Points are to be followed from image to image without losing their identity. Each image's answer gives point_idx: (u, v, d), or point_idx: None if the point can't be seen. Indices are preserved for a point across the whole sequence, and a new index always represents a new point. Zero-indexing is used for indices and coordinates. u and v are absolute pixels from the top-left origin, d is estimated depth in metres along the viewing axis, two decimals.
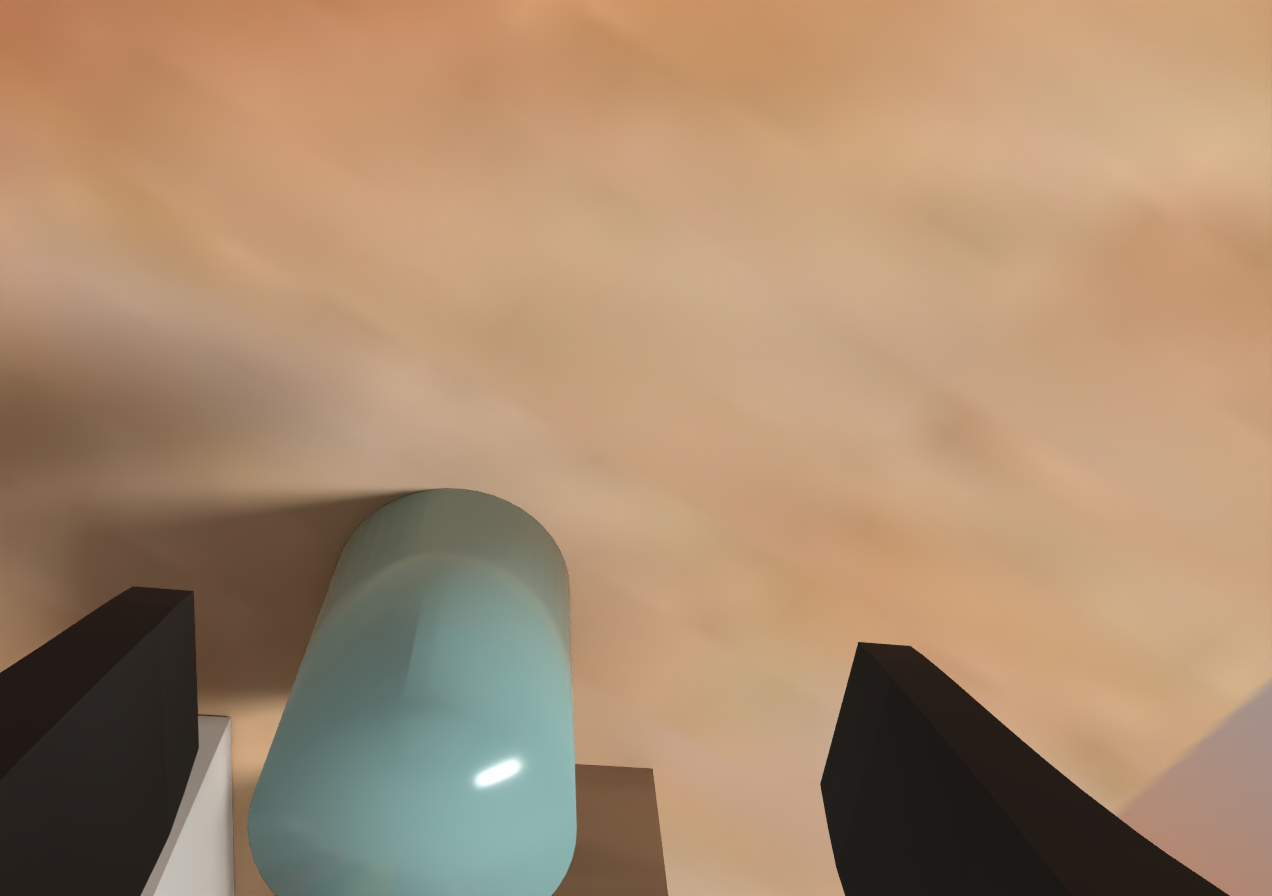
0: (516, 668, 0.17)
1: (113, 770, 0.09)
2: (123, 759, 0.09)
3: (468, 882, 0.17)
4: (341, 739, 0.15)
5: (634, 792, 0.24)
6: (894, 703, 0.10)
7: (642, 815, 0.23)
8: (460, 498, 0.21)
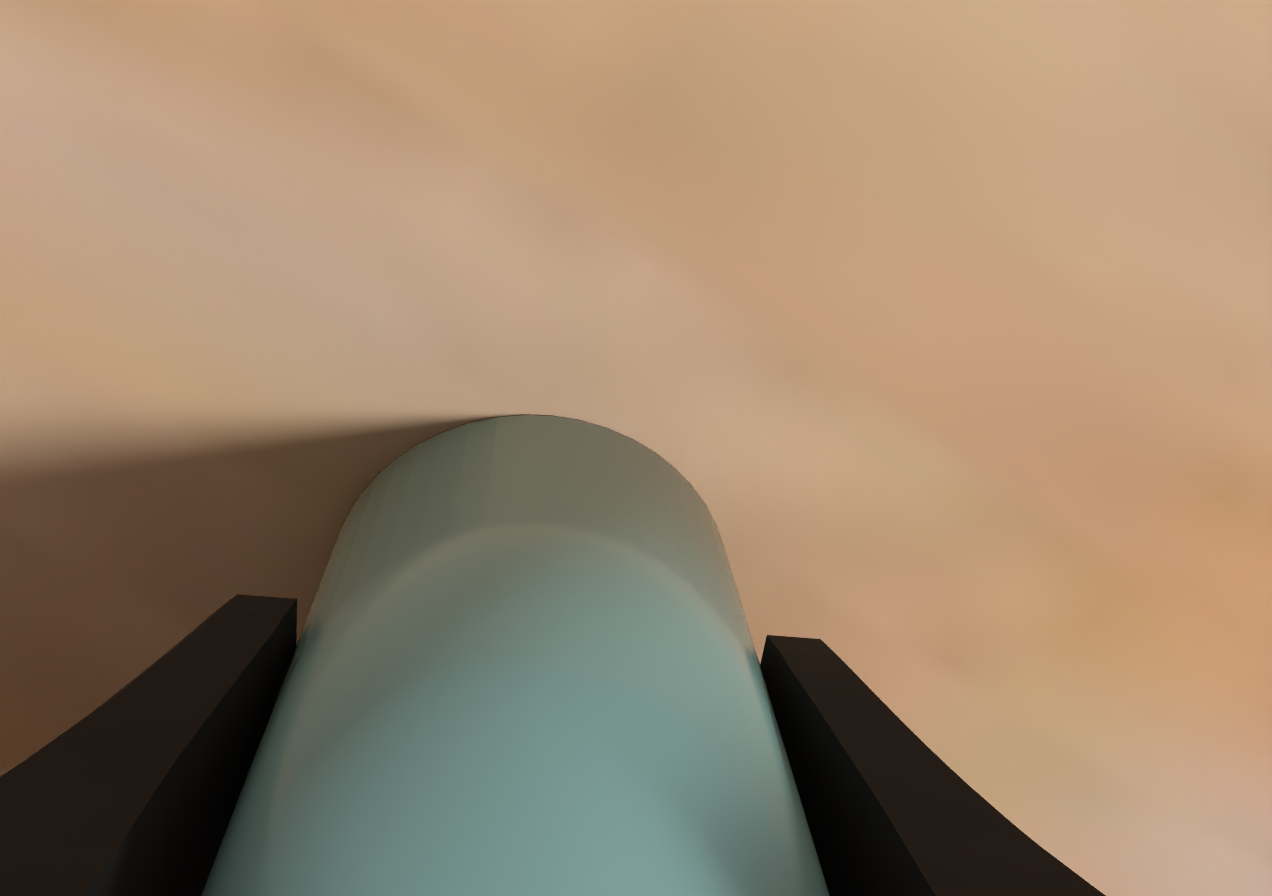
0: (733, 768, 0.08)
1: (236, 777, 0.09)
2: (243, 766, 0.09)
3: None
4: None
5: None
6: (793, 696, 0.10)
7: None
8: (553, 429, 0.12)
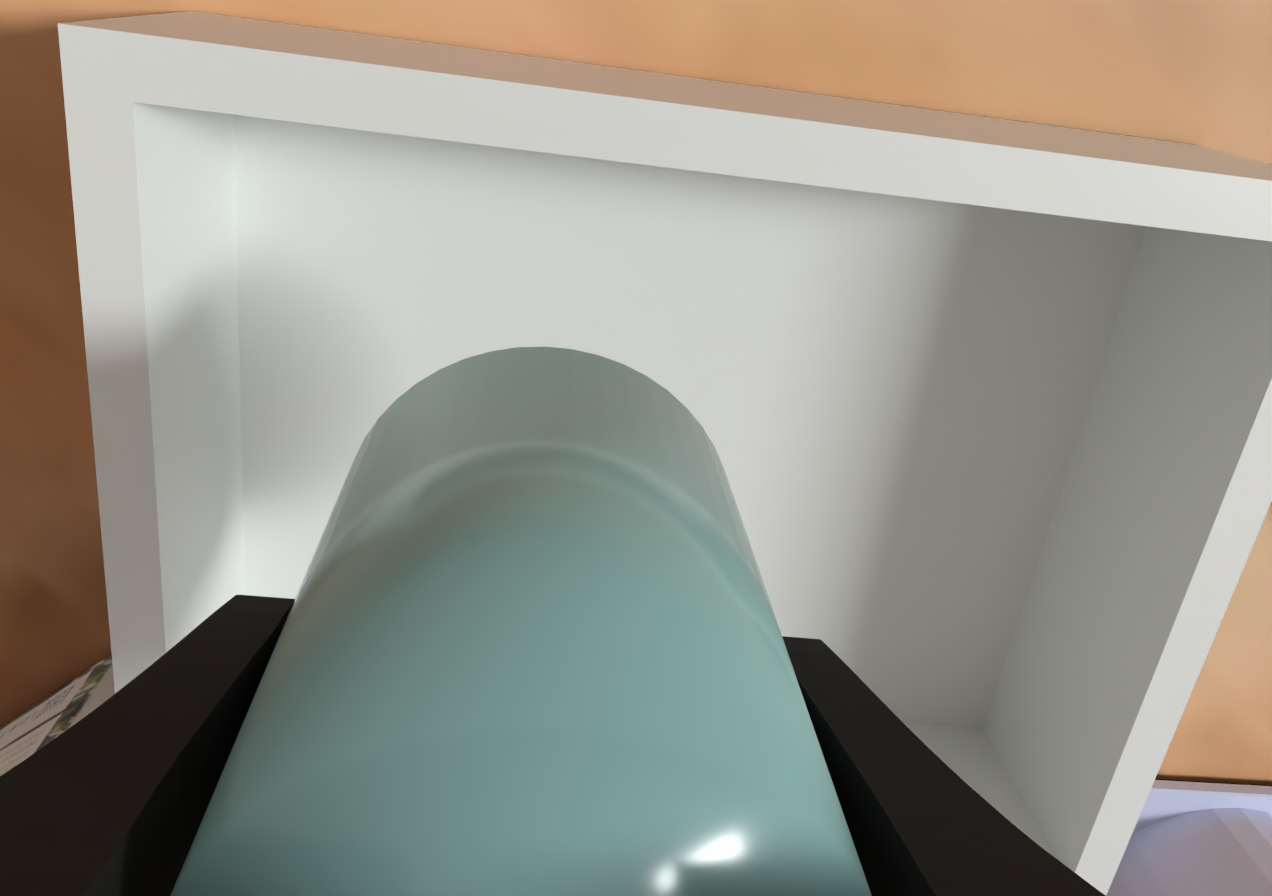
0: (774, 677, 0.08)
1: None
2: None
3: None
4: (423, 791, 0.06)
5: None
6: None
7: None
8: (599, 366, 0.12)
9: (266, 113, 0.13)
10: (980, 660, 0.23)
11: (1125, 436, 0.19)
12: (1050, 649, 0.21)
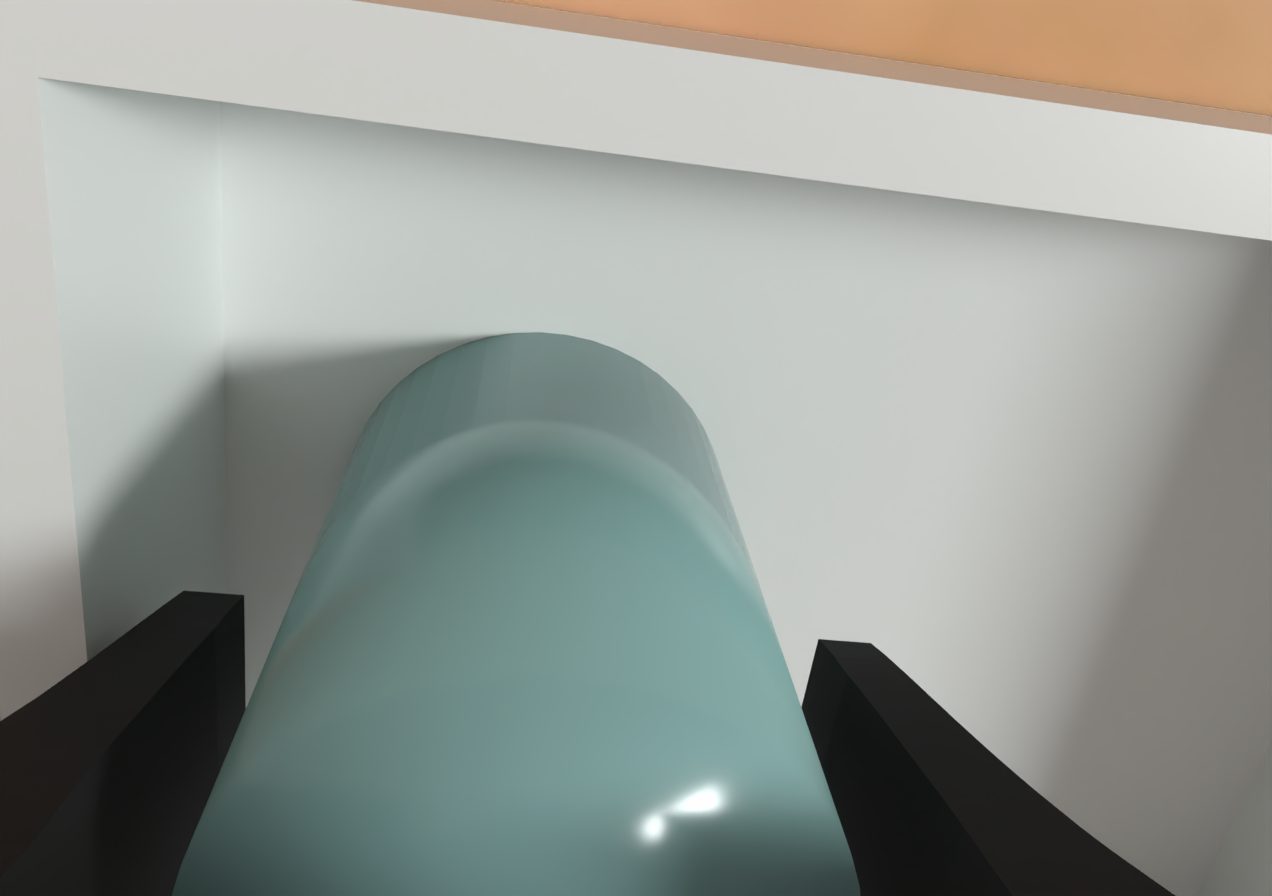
0: (757, 639, 0.09)
1: (174, 773, 0.09)
2: (182, 762, 0.09)
3: None
4: (430, 735, 0.07)
5: None
6: (850, 700, 0.10)
7: None
8: (593, 350, 0.13)
9: (270, 99, 0.08)
10: (1196, 829, 0.17)
11: None
12: None
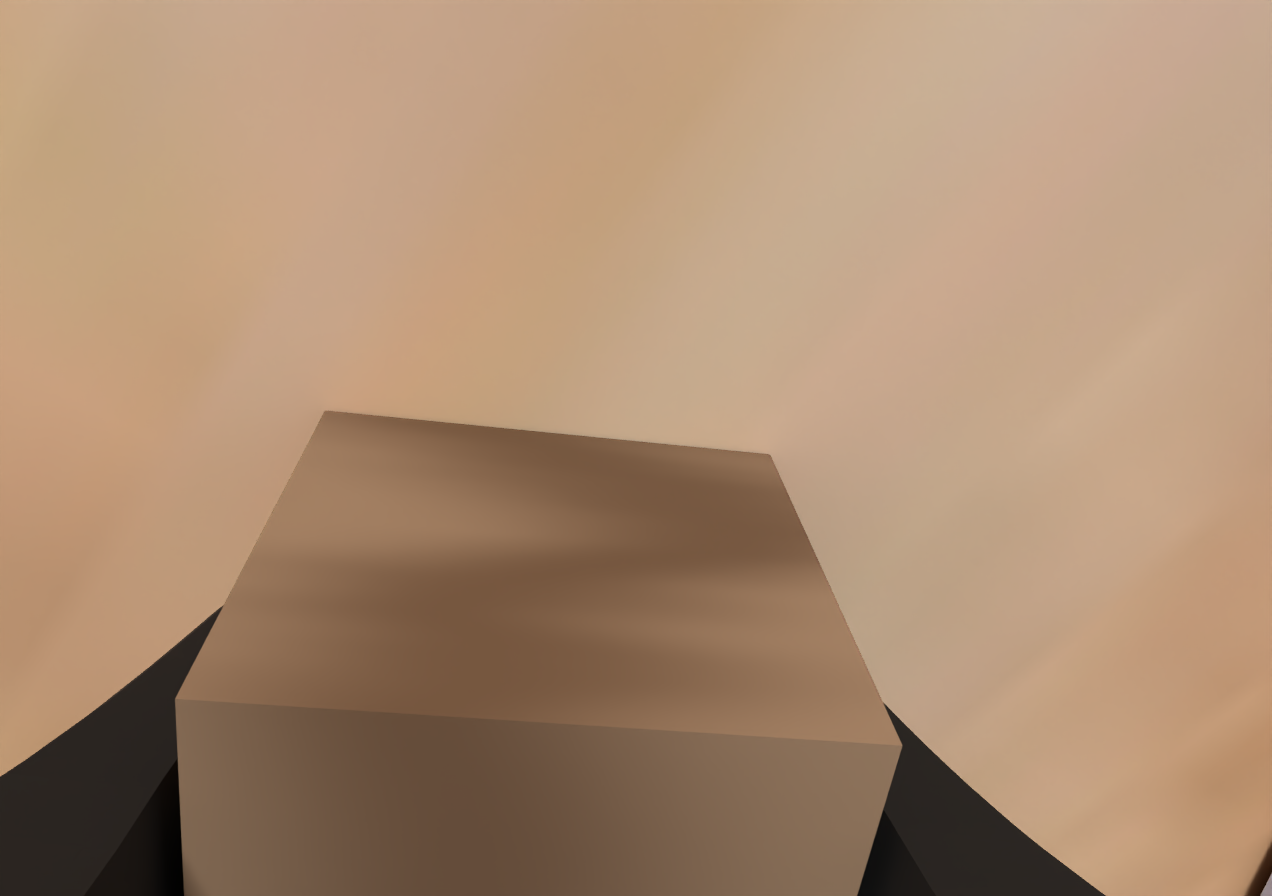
0: None
1: None
2: None
3: None
4: None
5: None
6: None
7: None
8: None
9: None
10: None
11: None
12: None
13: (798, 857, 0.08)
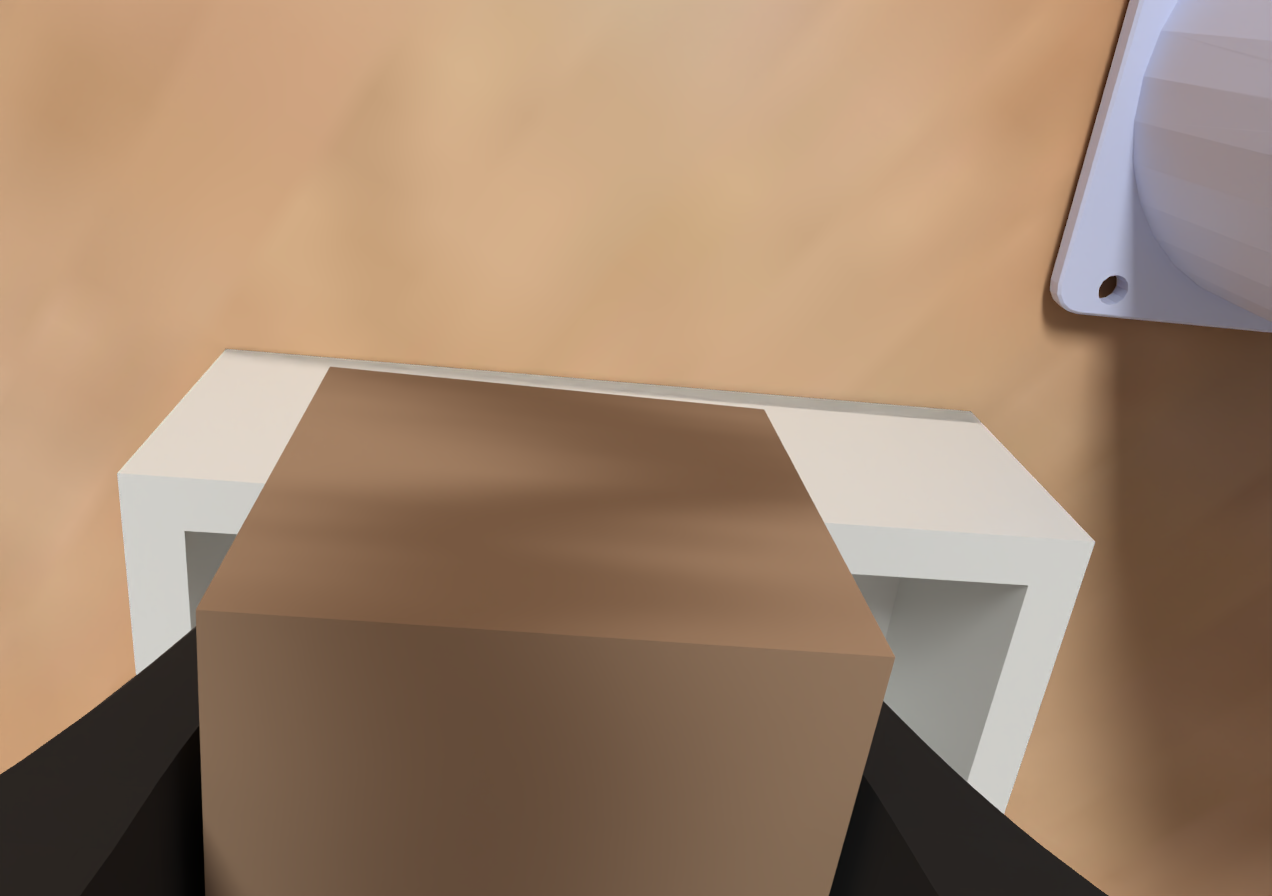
0: None
1: None
2: None
3: None
4: None
5: None
6: None
7: None
8: None
9: None
10: None
11: None
12: None
13: (796, 771, 0.08)
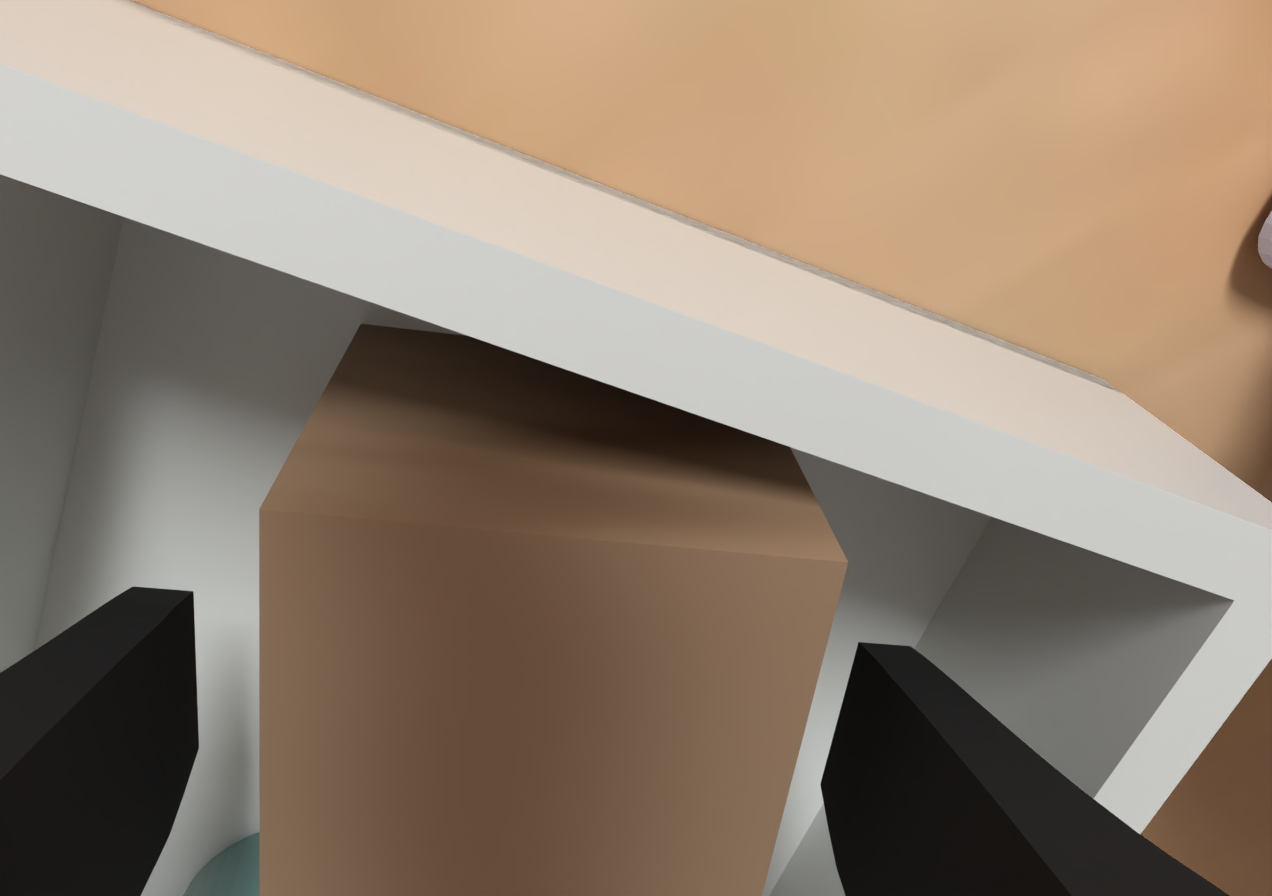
0: None
1: (113, 770, 0.09)
2: (123, 759, 0.09)
3: None
4: None
5: None
6: (894, 703, 0.10)
7: None
8: None
9: None
10: None
11: None
12: None
13: (764, 662, 0.10)
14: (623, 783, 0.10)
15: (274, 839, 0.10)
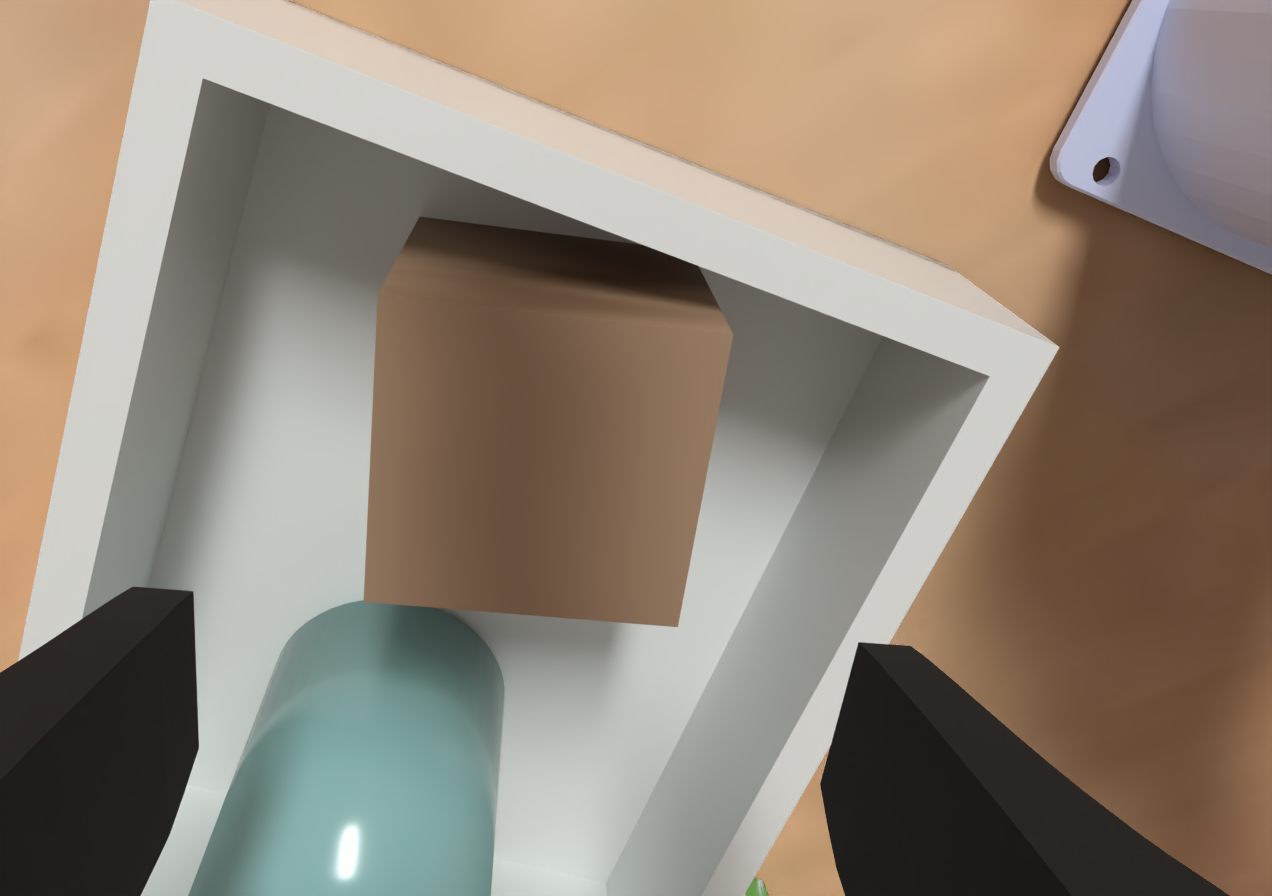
0: (240, 816, 0.17)
1: (114, 770, 0.09)
2: (123, 759, 0.09)
3: None
4: None
5: None
6: (894, 703, 0.10)
7: None
8: (271, 675, 0.22)
9: None
10: None
11: None
12: None
13: (683, 401, 0.15)
14: (597, 486, 0.16)
15: (376, 521, 0.16)
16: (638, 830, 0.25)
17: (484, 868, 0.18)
